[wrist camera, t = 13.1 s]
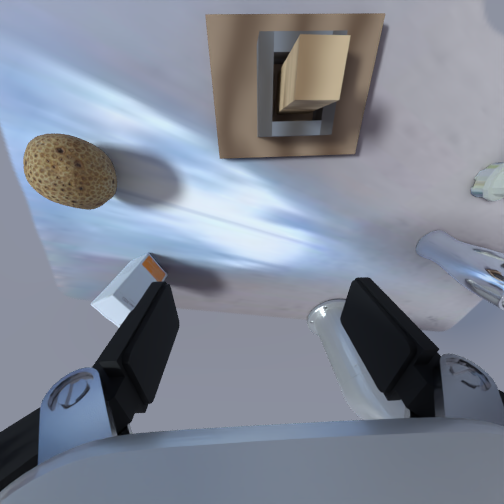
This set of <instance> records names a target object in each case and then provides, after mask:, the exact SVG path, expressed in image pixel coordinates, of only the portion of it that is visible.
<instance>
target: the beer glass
mask: <svg viewBox="0 0 504 504" xmlns="http://www.w3.org/2000/svg"><path fill="white" fill-rule="evenodd" d="M416 252H417V254H418V255H419V256H421V257H424V258H427V259H429V260H431V261H433V262H435V263H436V264H438V265H439V266H440V267H441V268H443V269H444V270H445V271H446V272H447V273H448V274H449V275H450V276H451V277H453V278H454V279H455V280H456V281H457V282H458V283H460V284H461V285H462V286H464V287H465V288H467V289H468V290H469V291H471V292H473V293H474V294H476V295H478V296H479V297H481V298H483V299H485V300H487V301H488V302H490V303H492V304H494V305H496V306H498V307H499V308H500V309H502V310H504V254H503V253H500V252H497V251H494V250H490V249H487V248H483V247H479V246H476V245H472V244H468V243H465V242H462V241H459V240H457V239H455V238H453V237H452V236H450V235H449V234H448V233H446V232H445V231H442V230H435V231H432V232H430V233H428V234H426V235H425V236H423V237H422V238H421V239H420V240H419V242H418V244H417V246H416Z"/></svg>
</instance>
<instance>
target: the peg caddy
mask: <svg viewBox="0 0 504 504" xmlns="http://www.w3.org/2000/svg"><path fill="white" fill-rule="evenodd" d="M384 18H385V13H380V14H211V15H206V25H207V35H208V45H209V55H210V65H211V75H212V85H213V95H214V105H215V115H216V125H217V135H218V145H219V155H220V159H223V158H252V157H282V156H311V155H341V154H355V151H356V146H357V142H358V137H359V133H360V128H361V123H362V119H363V114H364V110H365V105H366V100H367V96H368V91H369V87H370V82H371V77H372V73H373V68H374V64H375V59H376V54H377V50H378V45H379V41H380V36H381V31H382V27H383V22H384ZM300 34H312V35H351V36H350V42H349V48H348V53H347V59H346V65H345V70H344V76H343V82H342V87H341V93H340V99H339V100H338V101H336V102H334V103H331V104H329V105H326V106H324V107H322V108H319V109H317V110H315V111H312V112H310V113H307V114H276V97H277V76H278V73H279V71H280V69H281V67H282V66H283V64H284V62H285V60H286V58H287V57H288V55H289V53H290V51H291V50H292V48H293V46H294V44H295V43H296V41H297V39H298V37H299V35H300Z"/></svg>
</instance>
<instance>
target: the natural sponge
mask: <svg viewBox="0 0 504 504" xmlns="http://www.w3.org/2000/svg"><path fill="white" fill-rule="evenodd" d="M23 163H24V173H25V176H26V179H27V181H28V182H29V184H30V185H31V186H32V187H33V188H34V189H35V190H36V191H37V192H38V193H39V194H41V195H42V196H44V197H45V198H47V199H49V200H51V201H53V202H56V203H59V204H62V205H66V206H70V207H75V208H80V209H95V208H98V207H100V206H102V205H103V204H104V203H105V202H107V201H108V200H110V199H111V198H112V197H113V196H114V194H115V192H116V188H117V178H116V173H115V169H114V166H113V164H112V162H111V160H110V158H109V157H108V156H107V155H106V154H105V153H104V152H103V151H102V150H101V149H99V148H98V147H96V146H95V145H93V144H91V143H89V142H87V141H85V140H82V139H79V138H77V137H74V136H70V135H65V134H44V135H40V136H37V137H35V138H34V139H32V140H31V141H30V142H29V143H28V145H27V148H26V150H25V154H24V160H23Z"/></svg>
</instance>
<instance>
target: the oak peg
mask: <svg viewBox="0 0 504 504" xmlns="http://www.w3.org/2000/svg"><path fill="white" fill-rule="evenodd" d="M350 36H351V35H312V34H300V35H299V37H298V39H297V41H296V43H295V44H294V46H293V48H292V50H291V51H290V53H289V55H288V57H287V58H286V60H285V62H284V64H283V66H282V67H281V69H280V71H279V73H278V76H277V97H276V114H307V113H310V112H312V111H315V110H317V109H319V108H322V107H324V106H326V105H329V104H331V103H334V102H336V101H338V100H339V99H340V93H341V87H342V82H343V76H344V70H345V65H346V59H347V53H348V48H349V42H350Z"/></svg>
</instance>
